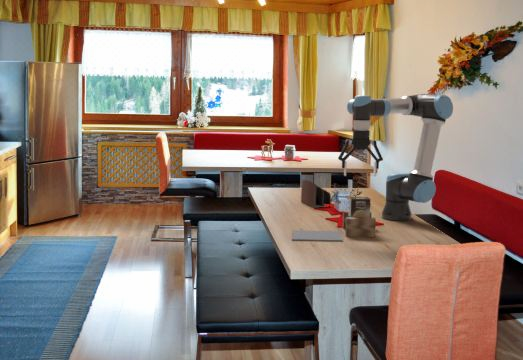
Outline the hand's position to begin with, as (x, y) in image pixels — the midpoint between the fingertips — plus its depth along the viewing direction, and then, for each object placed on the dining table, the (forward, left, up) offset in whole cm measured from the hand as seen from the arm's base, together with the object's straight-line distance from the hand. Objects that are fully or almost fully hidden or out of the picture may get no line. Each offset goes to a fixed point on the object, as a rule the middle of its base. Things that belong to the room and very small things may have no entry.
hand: (359, 175), depth 308 cm
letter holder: (+17, -68, -27) cm, 75 cm away
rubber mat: (+20, +11, -26) cm, 35 cm away
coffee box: (0, 0, -27) cm, 27 cm away
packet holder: (0, 0, -26) cm, 26 cm away
